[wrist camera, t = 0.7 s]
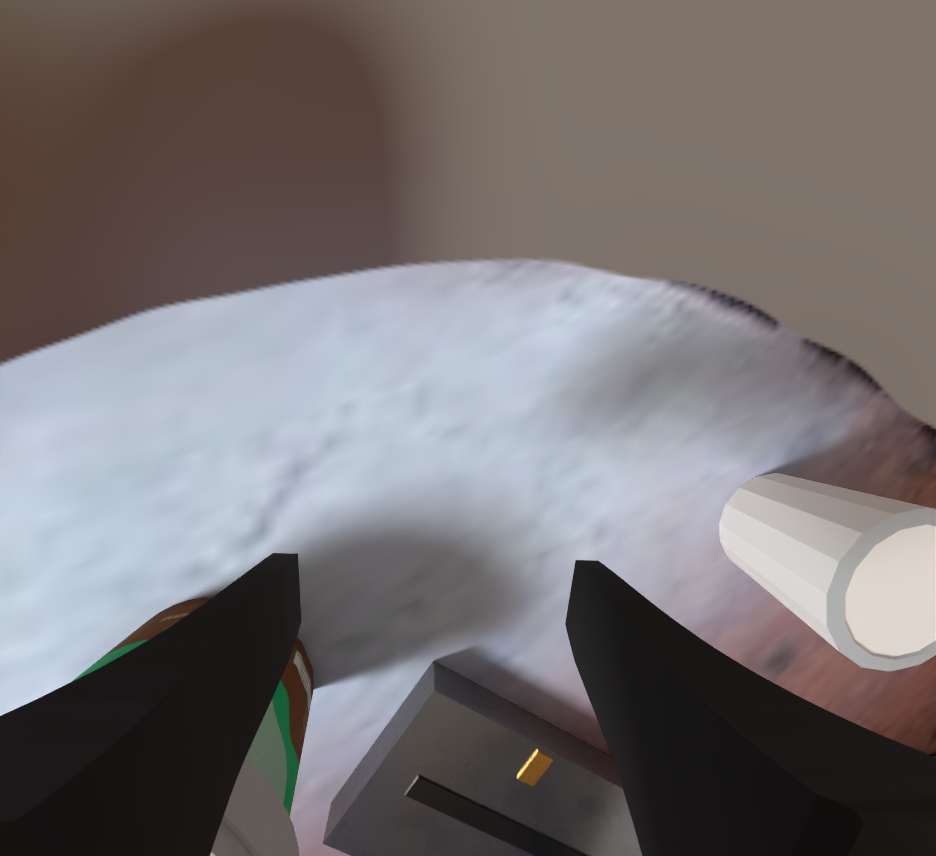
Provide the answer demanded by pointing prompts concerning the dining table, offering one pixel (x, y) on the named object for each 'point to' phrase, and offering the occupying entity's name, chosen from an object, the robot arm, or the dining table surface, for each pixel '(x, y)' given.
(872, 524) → the white cylinder
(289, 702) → the food container
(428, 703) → the fader console
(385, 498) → the dining table surface
